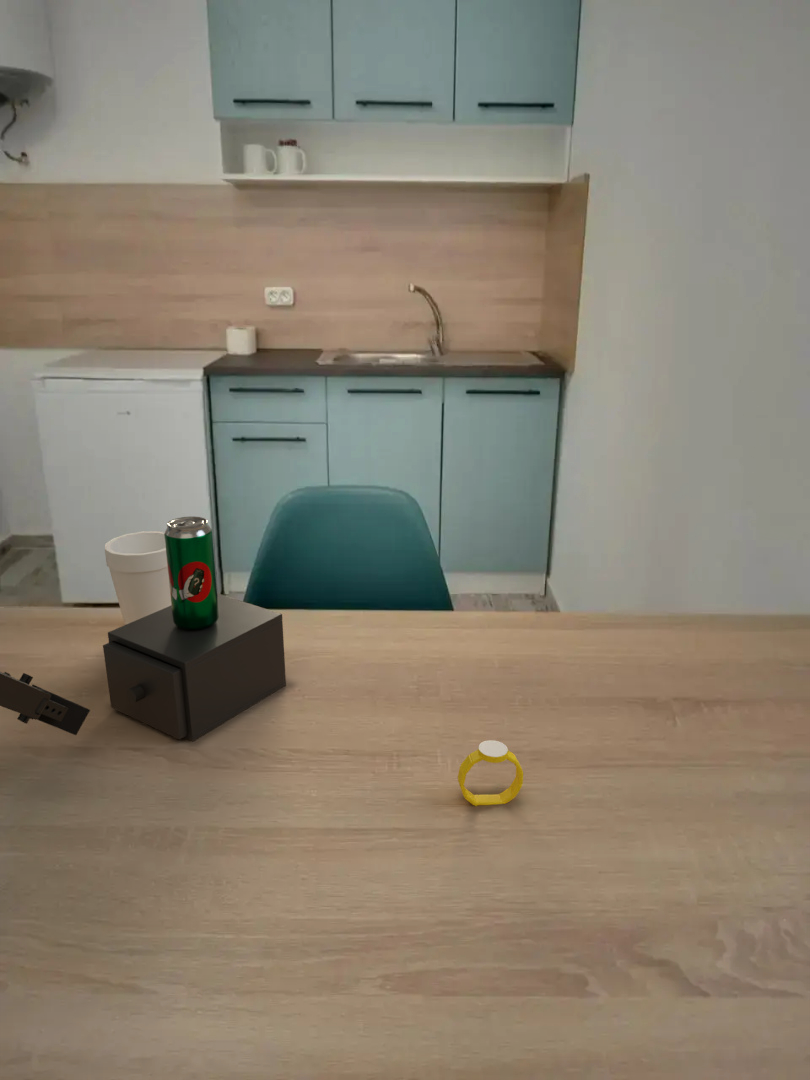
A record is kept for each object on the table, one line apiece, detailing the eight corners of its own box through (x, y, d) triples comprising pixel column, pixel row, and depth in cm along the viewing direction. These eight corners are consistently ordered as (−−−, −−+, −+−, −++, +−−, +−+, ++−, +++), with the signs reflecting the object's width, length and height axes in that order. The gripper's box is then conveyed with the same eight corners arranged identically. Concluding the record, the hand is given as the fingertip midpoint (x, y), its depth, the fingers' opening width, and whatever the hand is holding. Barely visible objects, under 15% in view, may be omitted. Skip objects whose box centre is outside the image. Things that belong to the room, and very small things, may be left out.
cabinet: (192, 743, 88) (184, 663, 85) (117, 708, 95) (107, 632, 92) (286, 687, 99) (282, 613, 96) (213, 658, 106) (207, 589, 103)
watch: (461, 814, 77) (462, 759, 75) (455, 795, 80) (456, 742, 78) (523, 808, 78) (526, 754, 76) (516, 790, 80) (519, 737, 78)
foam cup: (169, 650, 108) (159, 557, 104) (103, 645, 110) (90, 553, 105) (197, 619, 117) (189, 533, 113) (136, 615, 118) (126, 529, 114)
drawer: (170, 745, 86) (163, 678, 84) (101, 712, 92) (93, 649, 90) (269, 686, 98) (265, 626, 95) (202, 660, 104) (196, 603, 101)
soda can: (228, 619, 95) (221, 519, 91) (197, 636, 90) (187, 532, 86) (196, 610, 97) (187, 512, 93) (163, 626, 93) (153, 524, 89)
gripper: (-204, 651, 67) (20, 735, 85) (-125, 698, 60) (100, 778, 78) (-147, 570, 69) (59, 668, 88) (-65, 606, 62) (139, 704, 81)
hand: (78, 720), depth 83 cm, fingers closed
